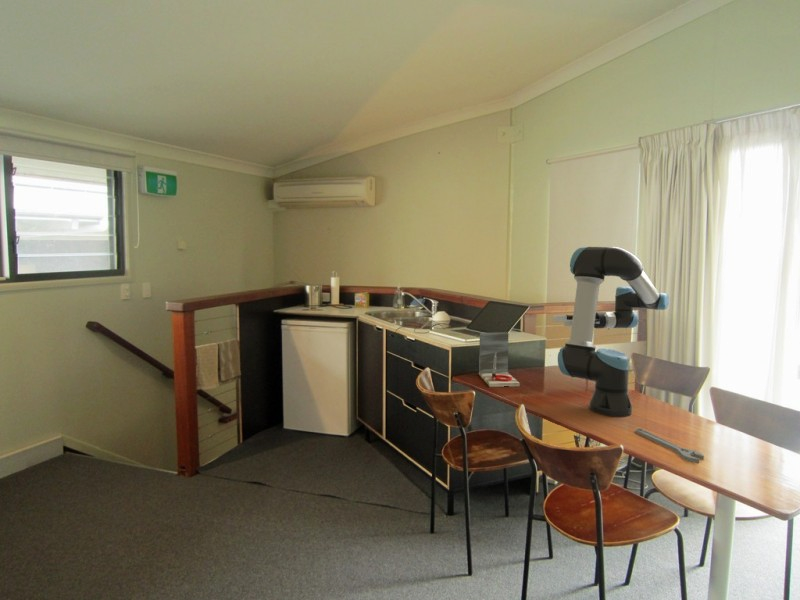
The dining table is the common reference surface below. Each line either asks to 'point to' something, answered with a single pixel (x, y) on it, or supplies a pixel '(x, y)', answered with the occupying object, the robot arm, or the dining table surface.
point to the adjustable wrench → (673, 447)
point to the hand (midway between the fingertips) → (558, 320)
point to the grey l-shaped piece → (486, 359)
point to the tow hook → (495, 377)
